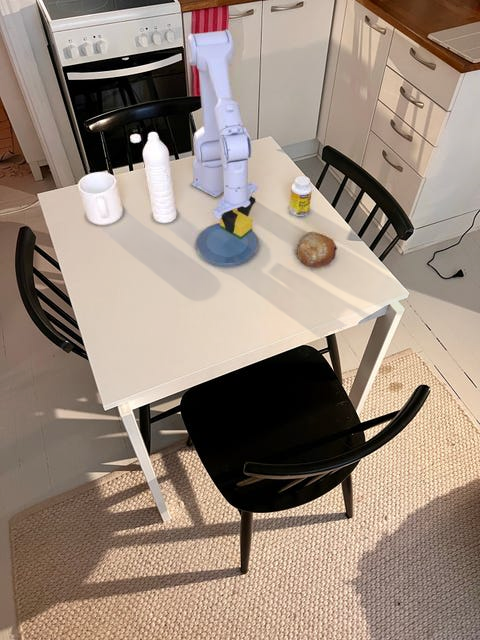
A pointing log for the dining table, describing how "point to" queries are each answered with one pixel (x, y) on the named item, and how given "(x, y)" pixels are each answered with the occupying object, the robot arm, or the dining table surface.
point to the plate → (225, 247)
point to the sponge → (240, 225)
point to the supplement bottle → (300, 196)
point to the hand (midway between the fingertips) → (236, 226)
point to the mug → (100, 198)
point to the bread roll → (316, 250)
